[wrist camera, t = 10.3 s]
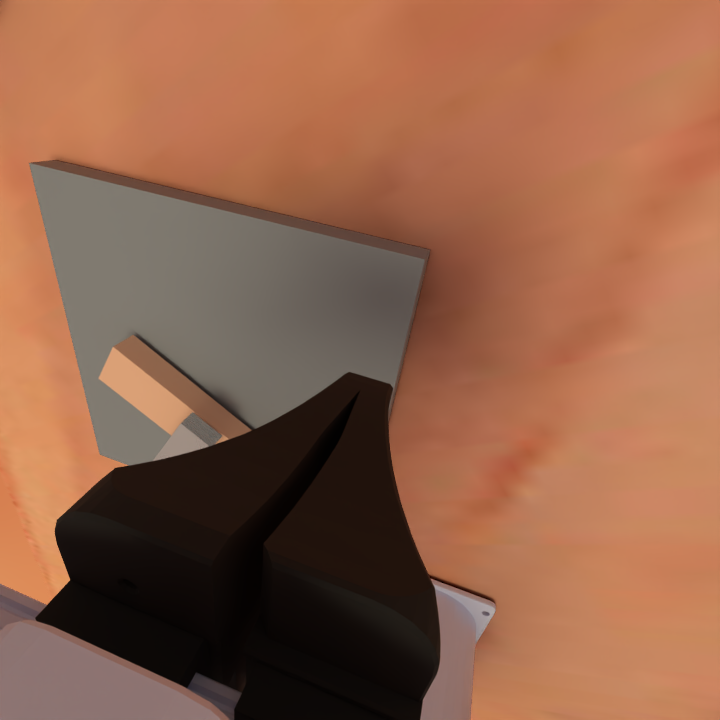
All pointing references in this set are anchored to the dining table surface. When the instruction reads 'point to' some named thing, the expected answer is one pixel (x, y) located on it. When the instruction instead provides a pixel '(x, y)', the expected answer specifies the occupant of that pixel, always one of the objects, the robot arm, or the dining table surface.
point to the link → (163, 390)
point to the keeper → (189, 438)
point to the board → (219, 298)
